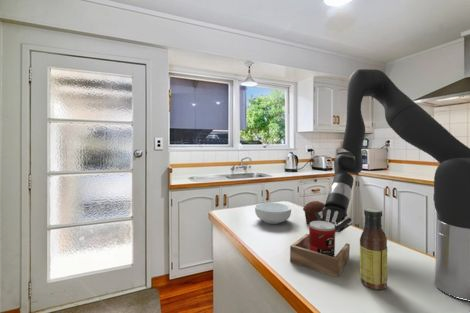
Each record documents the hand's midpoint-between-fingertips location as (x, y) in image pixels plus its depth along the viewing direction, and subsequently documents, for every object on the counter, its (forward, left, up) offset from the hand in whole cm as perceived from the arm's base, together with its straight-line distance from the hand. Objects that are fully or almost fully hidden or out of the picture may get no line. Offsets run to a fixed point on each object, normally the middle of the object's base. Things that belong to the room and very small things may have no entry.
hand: (326, 240), depth 80 cm
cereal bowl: (+12, -33, -5) cm, 35 cm away
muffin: (-7, -29, -5) cm, 30 cm away
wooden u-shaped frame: (+4, +5, -4) cm, 8 cm away
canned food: (+3, +3, -4) cm, 6 cm away
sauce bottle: (-5, +18, -4) cm, 19 cm away
